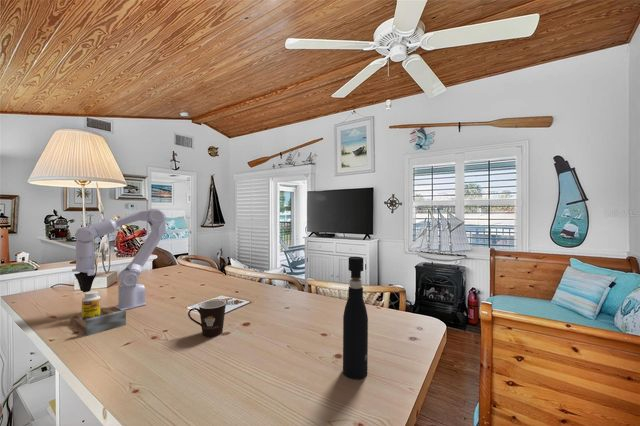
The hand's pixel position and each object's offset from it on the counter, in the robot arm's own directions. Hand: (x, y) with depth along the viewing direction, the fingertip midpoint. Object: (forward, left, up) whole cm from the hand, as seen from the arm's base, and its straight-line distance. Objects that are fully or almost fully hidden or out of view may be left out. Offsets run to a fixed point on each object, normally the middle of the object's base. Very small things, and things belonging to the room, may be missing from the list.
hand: (85, 291), depth 113 cm
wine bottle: (-29, +106, -10) cm, 110 cm away
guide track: (0, +14, -9) cm, 16 cm away
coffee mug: (-20, +54, -10) cm, 58 cm away
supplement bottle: (0, +7, -10) cm, 12 cm away
